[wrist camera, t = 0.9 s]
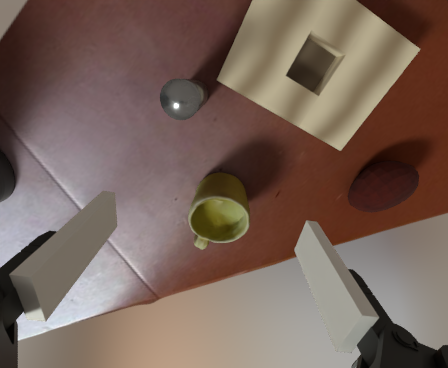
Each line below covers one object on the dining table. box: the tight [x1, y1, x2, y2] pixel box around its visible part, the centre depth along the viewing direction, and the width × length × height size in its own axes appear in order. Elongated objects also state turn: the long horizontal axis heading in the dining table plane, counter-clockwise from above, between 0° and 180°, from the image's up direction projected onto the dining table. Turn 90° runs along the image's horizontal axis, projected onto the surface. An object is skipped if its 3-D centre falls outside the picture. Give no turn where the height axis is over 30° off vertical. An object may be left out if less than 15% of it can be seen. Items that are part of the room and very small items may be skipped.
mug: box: [188, 172, 250, 249], centre depth 35 cm, size 12×10×10 cm
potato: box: [348, 161, 419, 212], centre depth 33 cm, size 7×10×6 cm
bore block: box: [217, 0, 420, 151], centre depth 27 cm, size 20×14×4 cm
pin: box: [160, 79, 209, 120], centre depth 25 cm, size 4×4×12 cm
